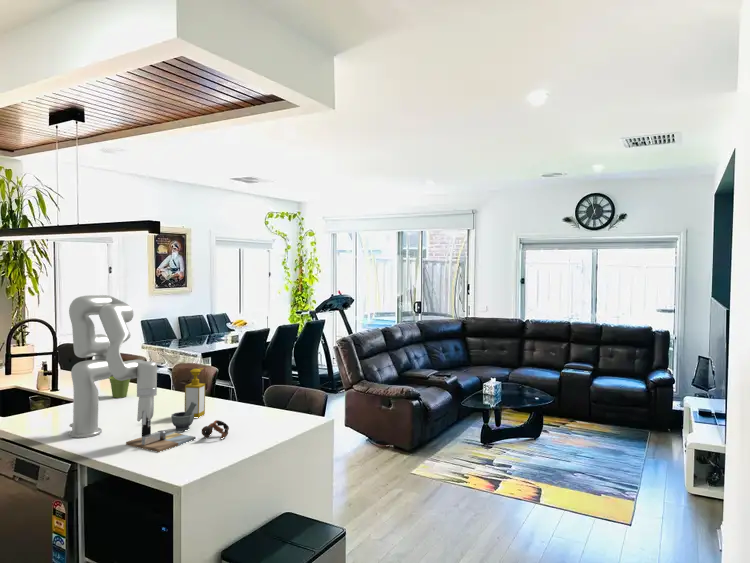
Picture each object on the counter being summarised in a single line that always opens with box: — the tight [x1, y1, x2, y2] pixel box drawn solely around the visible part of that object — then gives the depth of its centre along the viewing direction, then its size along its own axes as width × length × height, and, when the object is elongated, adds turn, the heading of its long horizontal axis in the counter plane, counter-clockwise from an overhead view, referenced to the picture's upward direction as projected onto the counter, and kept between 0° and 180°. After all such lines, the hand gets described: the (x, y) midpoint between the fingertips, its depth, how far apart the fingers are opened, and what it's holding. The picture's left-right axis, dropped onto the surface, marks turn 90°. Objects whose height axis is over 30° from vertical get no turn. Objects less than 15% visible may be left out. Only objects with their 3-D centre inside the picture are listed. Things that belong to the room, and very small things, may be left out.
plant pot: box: [108, 376, 131, 399], centre depth 302 cm, size 12×12×11 cm
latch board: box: [125, 430, 196, 453], centre depth 219 cm, size 19×19×1 cm
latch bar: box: [141, 429, 167, 445], centre depth 216 cm, size 11×3×3 cm, turn 154°
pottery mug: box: [201, 419, 230, 439], centre depth 226 cm, size 12×10×8 cm
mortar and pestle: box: [171, 402, 197, 432], centre depth 239 cm, size 11×9×12 cm
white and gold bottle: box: [184, 368, 206, 419], centre depth 265 cm, size 7×13×24 cm, turn 174°
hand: (146, 436), depth 218 cm, fingers closed
